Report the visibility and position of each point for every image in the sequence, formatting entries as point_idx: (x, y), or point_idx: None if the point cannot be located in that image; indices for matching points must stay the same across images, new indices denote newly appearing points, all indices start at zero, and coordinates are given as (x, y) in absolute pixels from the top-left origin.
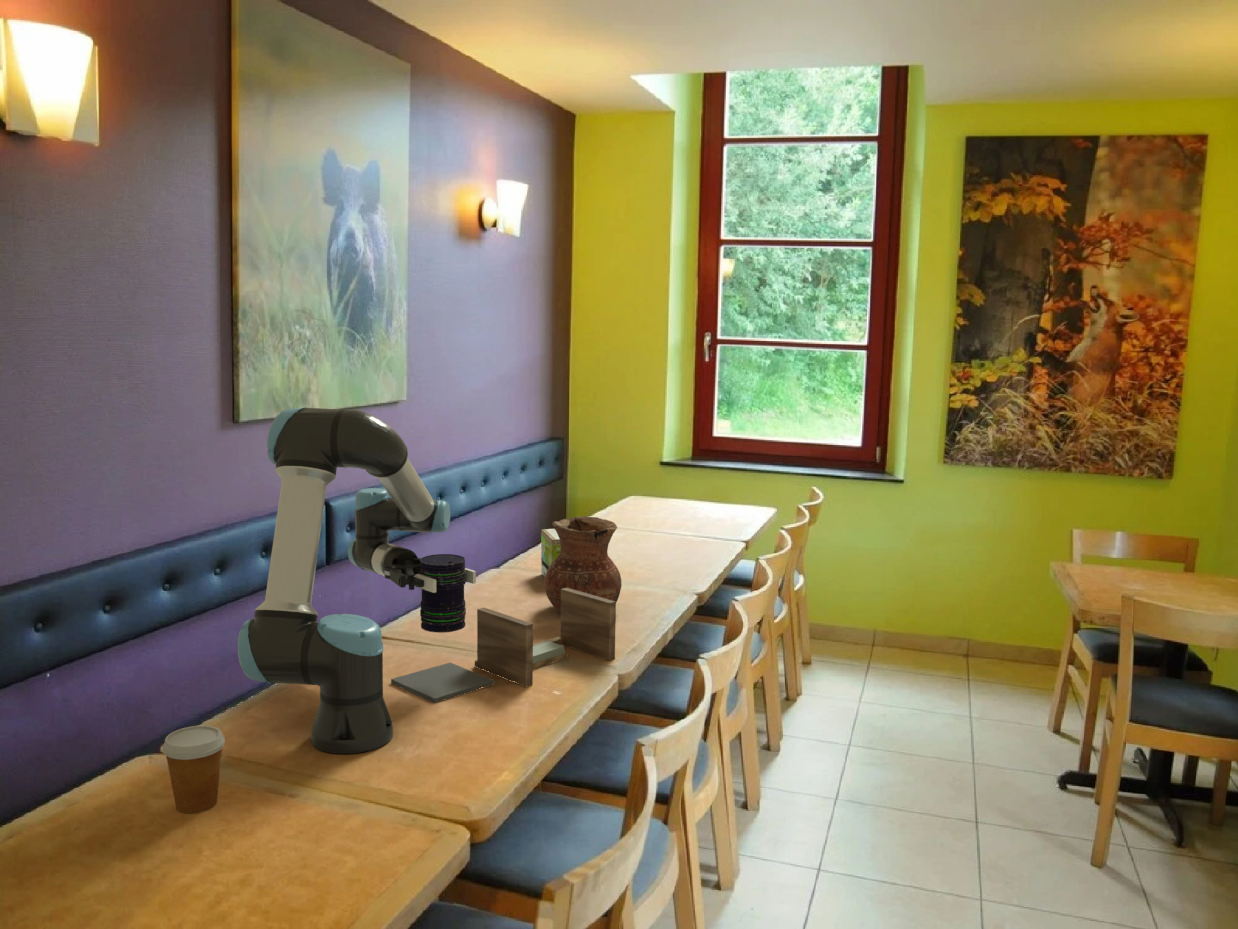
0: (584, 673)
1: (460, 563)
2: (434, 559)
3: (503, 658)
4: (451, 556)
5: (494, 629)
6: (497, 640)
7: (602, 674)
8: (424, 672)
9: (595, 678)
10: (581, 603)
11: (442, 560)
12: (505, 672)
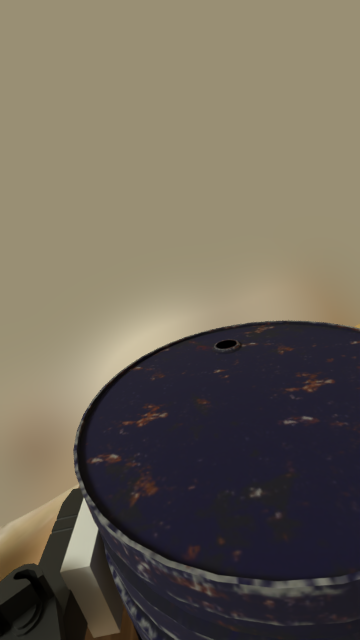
0: (20, 563)
1: (189, 340)
2: (306, 409)
3: (123, 626)
4: (127, 440)
5: (87, 638)
6: (103, 636)
7: (14, 539)
8: None
9: (38, 528)
10: None
11: (250, 378)
12: (134, 638)
